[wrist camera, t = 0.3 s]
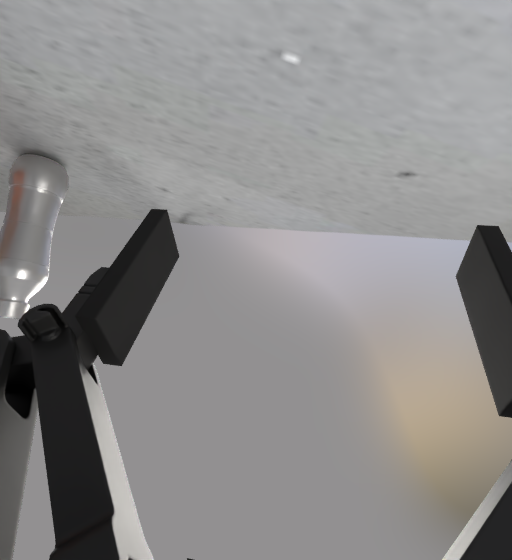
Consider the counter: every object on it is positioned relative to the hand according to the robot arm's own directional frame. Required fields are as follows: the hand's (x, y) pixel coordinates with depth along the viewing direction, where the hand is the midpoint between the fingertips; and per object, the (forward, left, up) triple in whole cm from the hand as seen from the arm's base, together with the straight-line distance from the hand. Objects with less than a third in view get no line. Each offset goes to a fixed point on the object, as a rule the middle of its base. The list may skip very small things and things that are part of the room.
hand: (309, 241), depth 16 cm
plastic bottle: (+21, -36, -16) cm, 44 cm away
